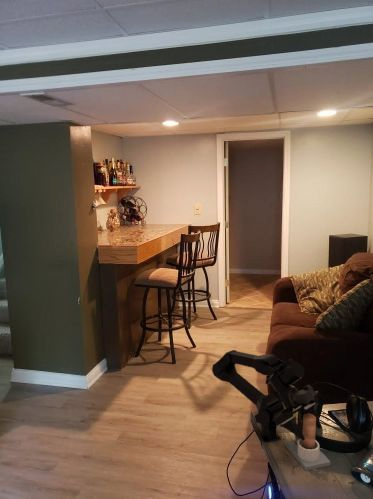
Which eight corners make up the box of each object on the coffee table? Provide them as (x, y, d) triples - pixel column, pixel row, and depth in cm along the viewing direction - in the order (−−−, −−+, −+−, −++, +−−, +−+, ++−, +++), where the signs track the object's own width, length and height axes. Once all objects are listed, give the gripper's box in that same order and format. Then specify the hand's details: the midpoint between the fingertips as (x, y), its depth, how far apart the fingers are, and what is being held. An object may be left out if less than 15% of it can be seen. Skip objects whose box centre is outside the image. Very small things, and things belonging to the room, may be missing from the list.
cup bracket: (285, 445, 136) (285, 432, 135) (308, 441, 138) (308, 427, 138) (305, 470, 124) (305, 455, 123) (330, 465, 126) (330, 450, 125)
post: (299, 450, 131) (300, 414, 129) (309, 448, 132) (311, 412, 130) (306, 458, 127) (307, 421, 125) (316, 456, 128) (318, 419, 126)
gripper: (281, 389, 123) (311, 437, 116) (314, 371, 135) (344, 414, 128) (261, 402, 130) (289, 449, 123) (295, 384, 142) (322, 426, 135)
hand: (312, 434), depth 127 cm, fingers open, 9 cm apart
